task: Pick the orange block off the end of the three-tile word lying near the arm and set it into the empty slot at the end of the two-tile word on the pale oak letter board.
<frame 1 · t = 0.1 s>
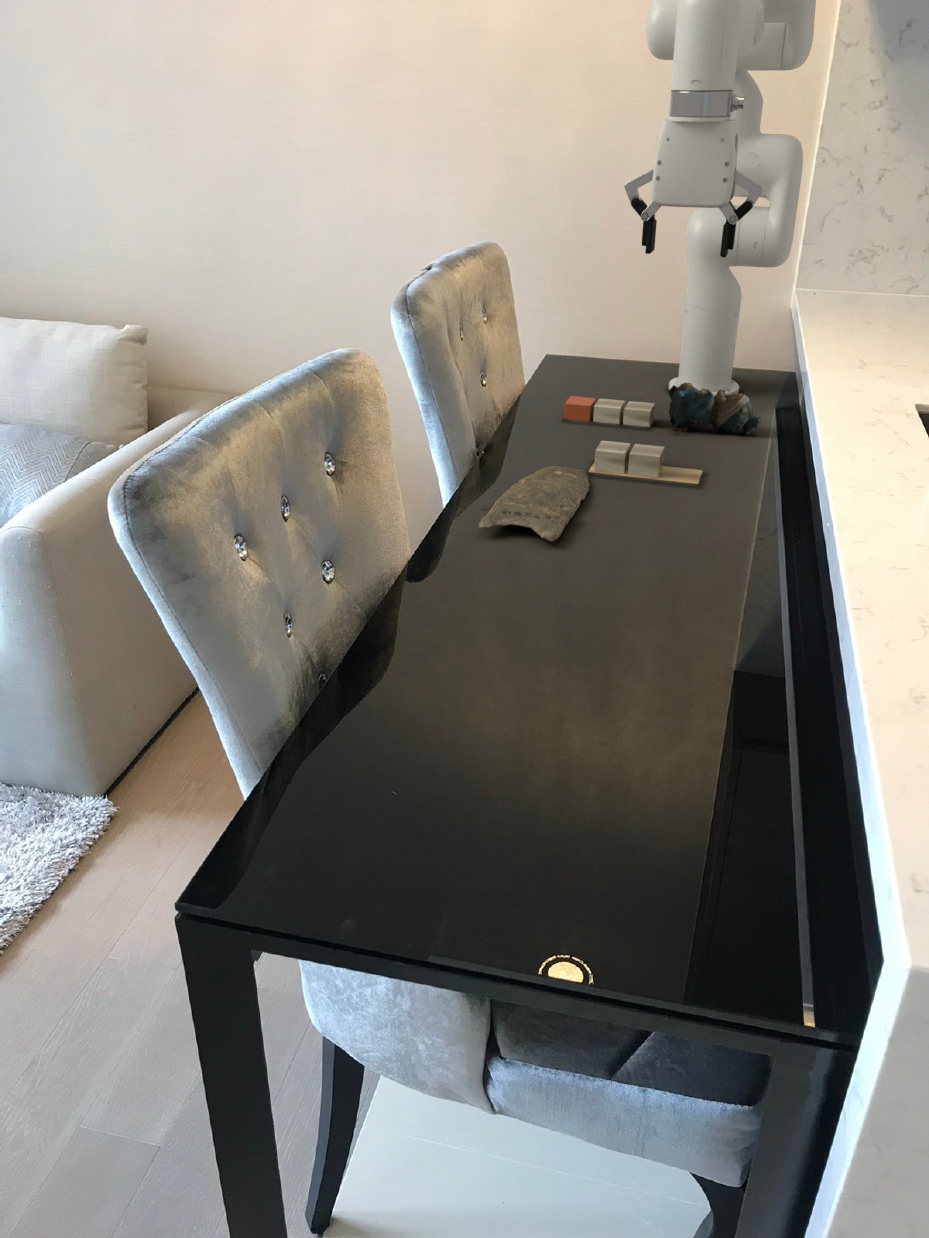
hand: (686, 254, 131), 31 cm above the table, tool pointing down, fingers open, 9 cm apart
tile left 2: (608, 421, 168), on the table
stone tool: (542, 509, 137), on the table
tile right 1: (611, 467, 148), point 1 cm above the table, touching letter board
tile right 2: (645, 470, 147), point 1 cm above the table, touching letter board
blue brown rough lump: (710, 433, 163), on the table
letter board: (645, 474, 147), on the table
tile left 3: (638, 424, 167), on the table
orange block: (579, 419, 170), on the table
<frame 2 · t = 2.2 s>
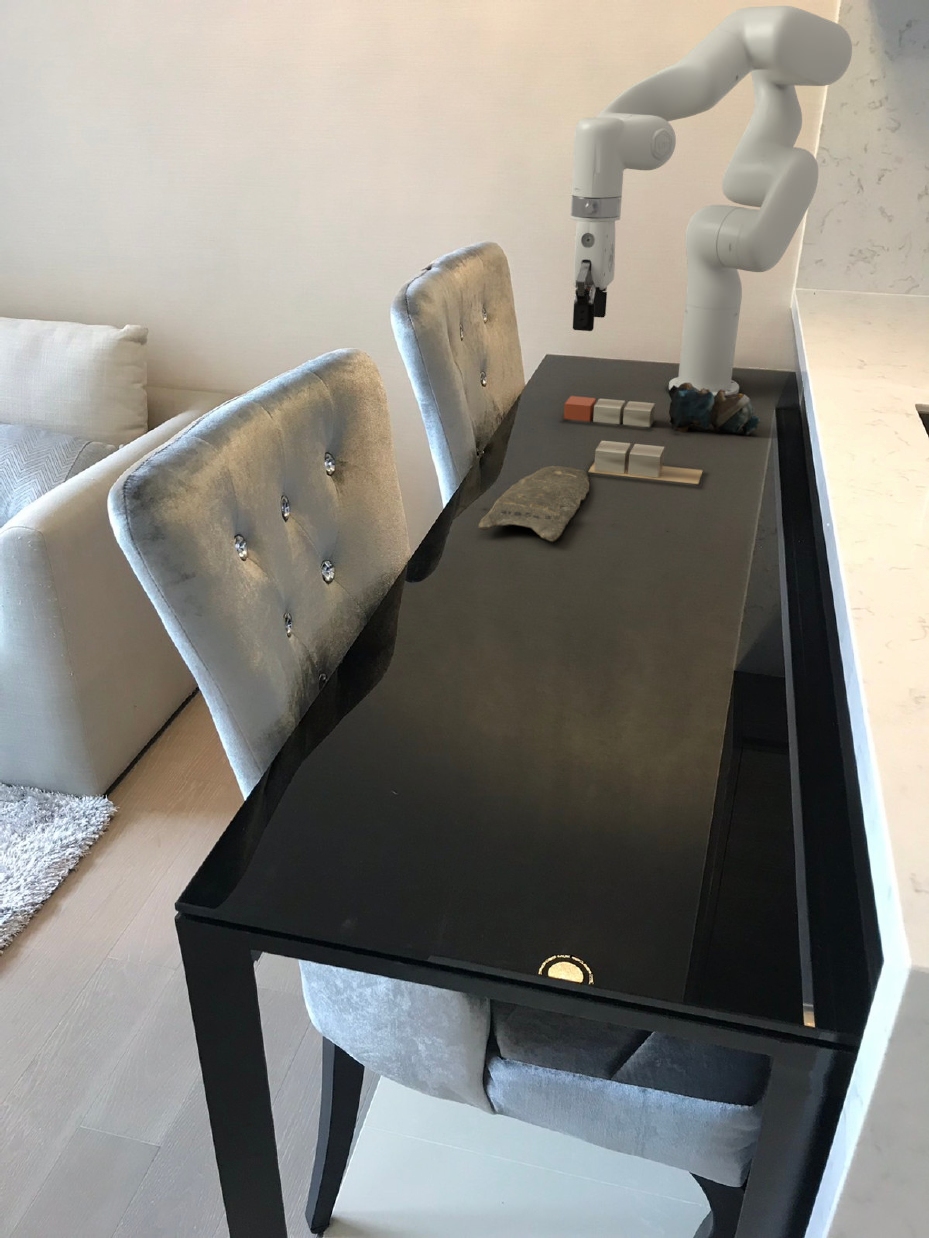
hand: (589, 323, 160), 17 cm above the table, tool pointing down, fingers open, 9 cm apart
nothing on the table moved.
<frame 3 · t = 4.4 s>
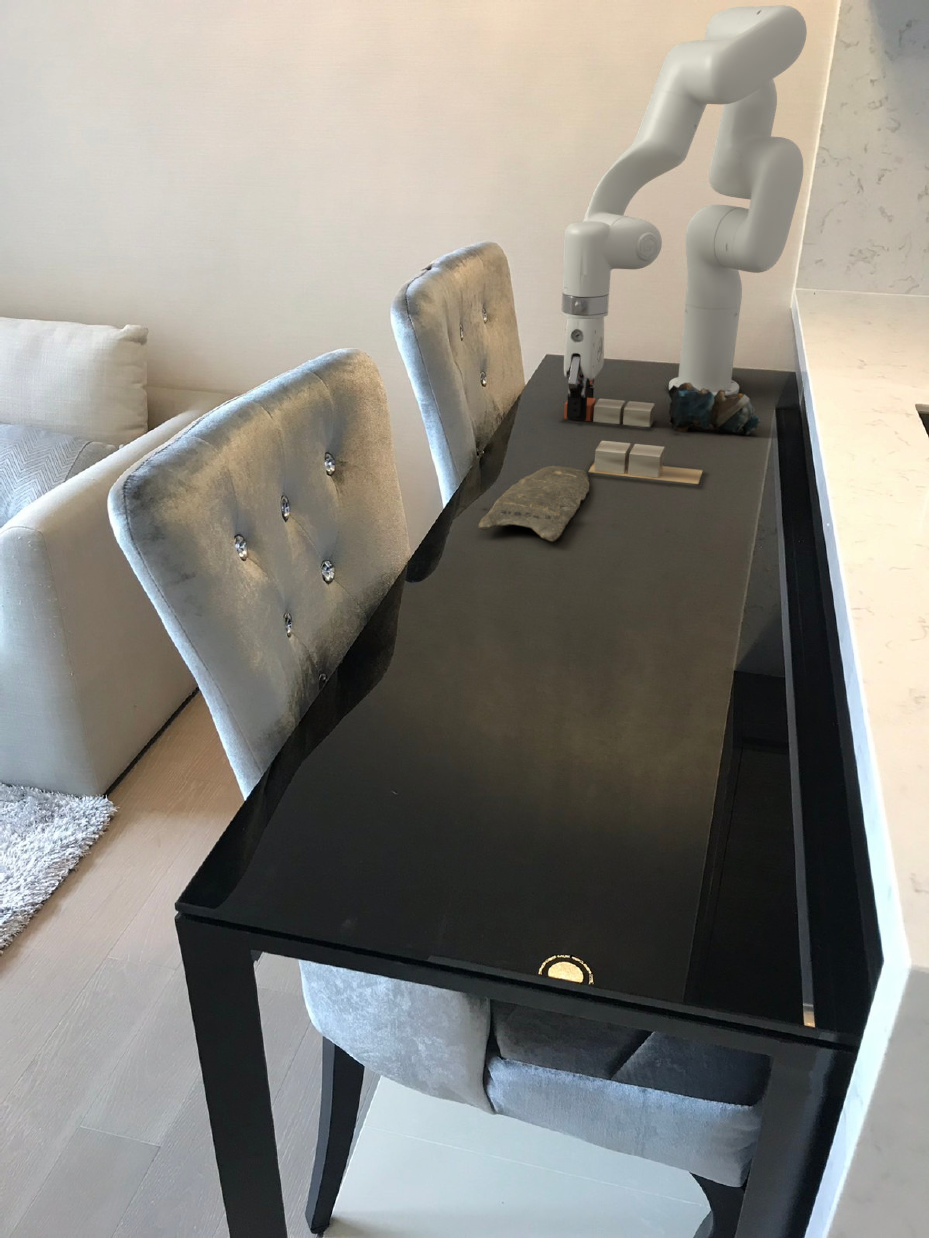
hand: (579, 413, 169), 1 cm above the table, tool pointing down, fingers closed on orange block, 4 cm apart
orange block: (579, 419, 170), on the table, touching gripper
everything else where it was.
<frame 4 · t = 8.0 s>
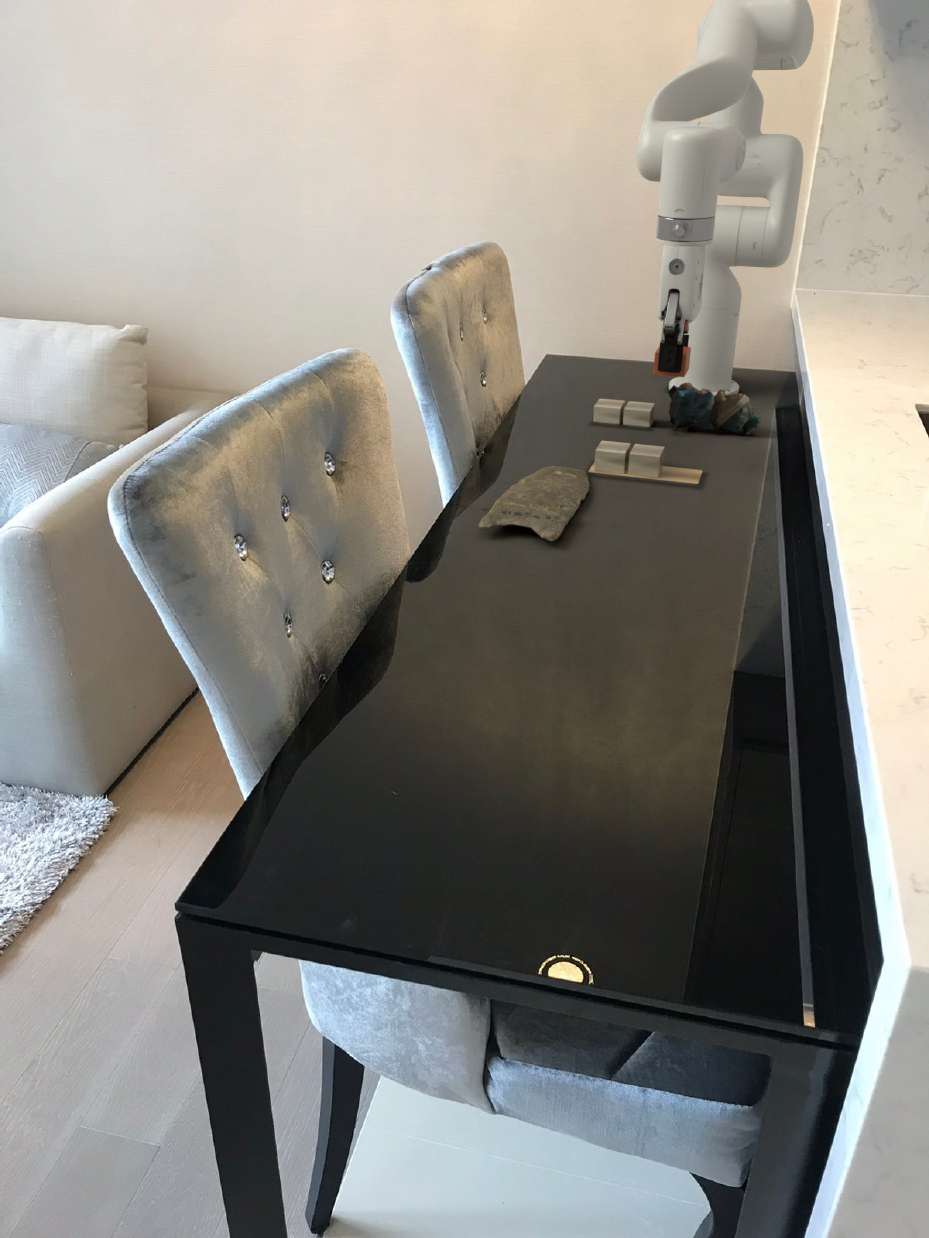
hand: (672, 365, 142), 16 cm above the table, tool pointing down, fingers closed on orange block, 4 cm apart
orange block: (671, 372, 142), point 15 cm above the table, touching gripper
everything else where it was.
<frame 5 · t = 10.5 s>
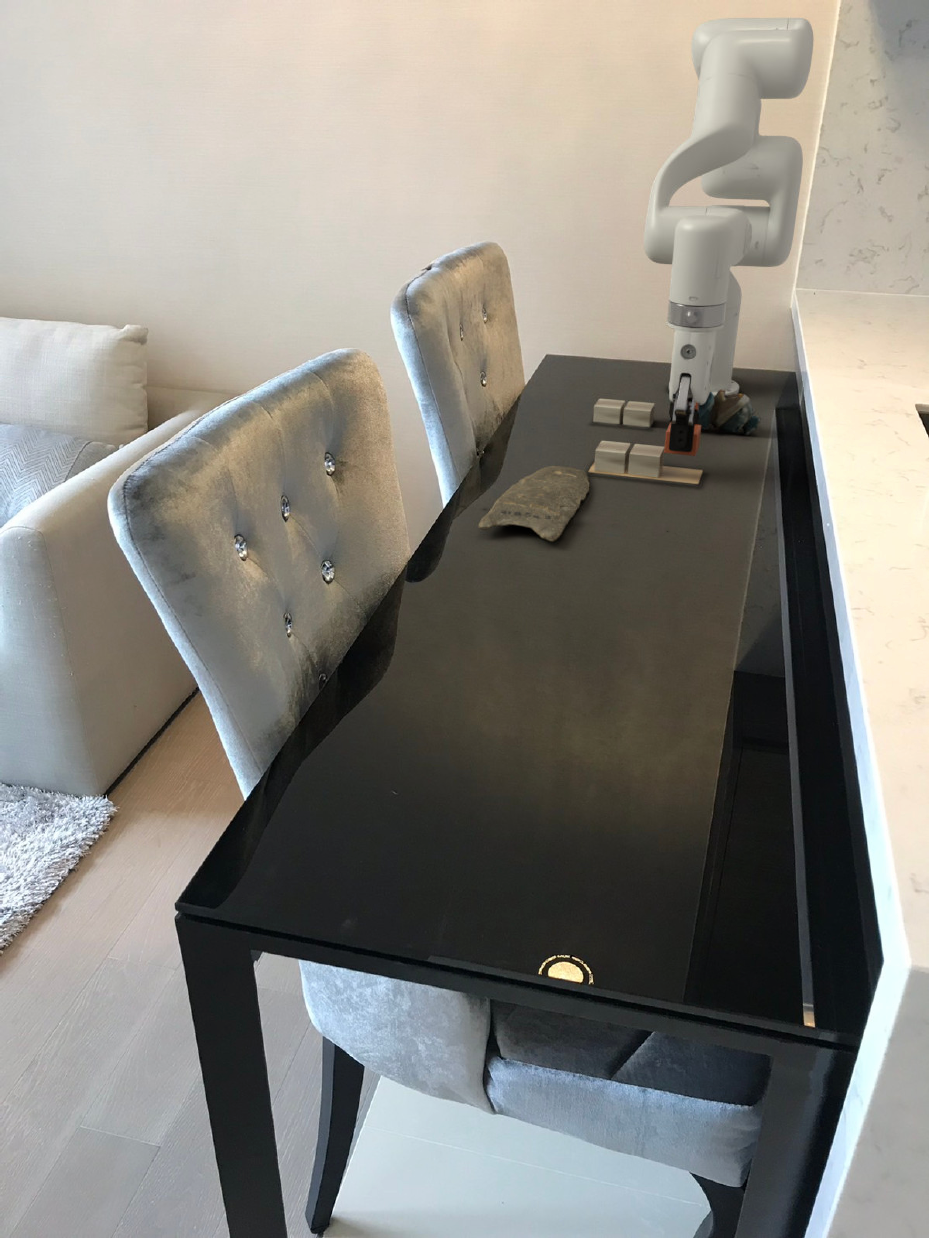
hand: (682, 443, 143), 5 cm above the table, tool pointing down, fingers closed on orange block, 4 cm apart
orange block: (681, 449, 144), point 4 cm above the table, touching gripper
everything else where it was.
when the fingers open (2 cm above the table, at t = 11.9 s): orange block stays where it is, resting on letter board.
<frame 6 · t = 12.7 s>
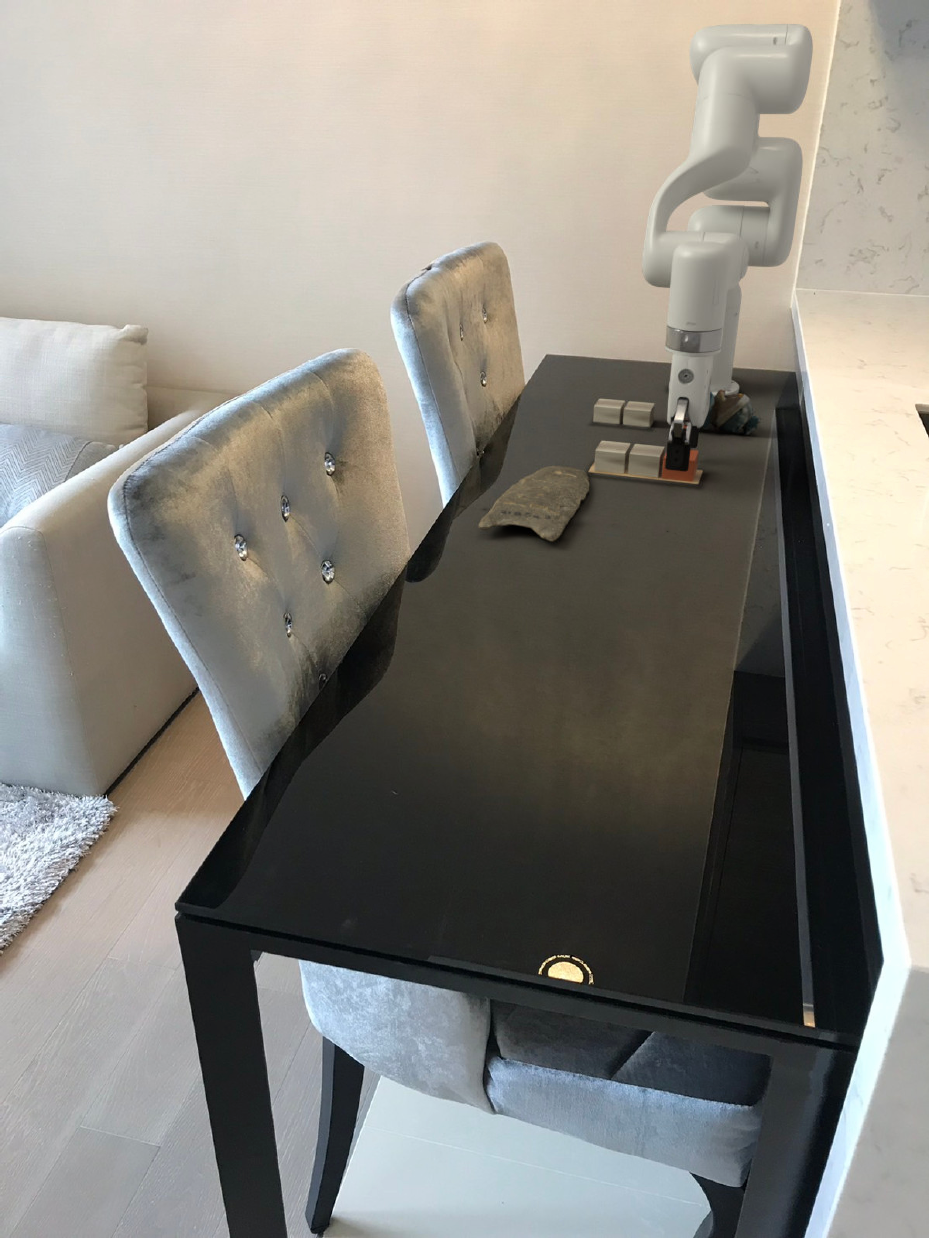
hand: (681, 458, 144), 3 cm above the table, tool pointing down, fingers open, 9 cm apart
orange block: (679, 474, 146), point 1 cm above the table, touching letter board
everything else where it was.
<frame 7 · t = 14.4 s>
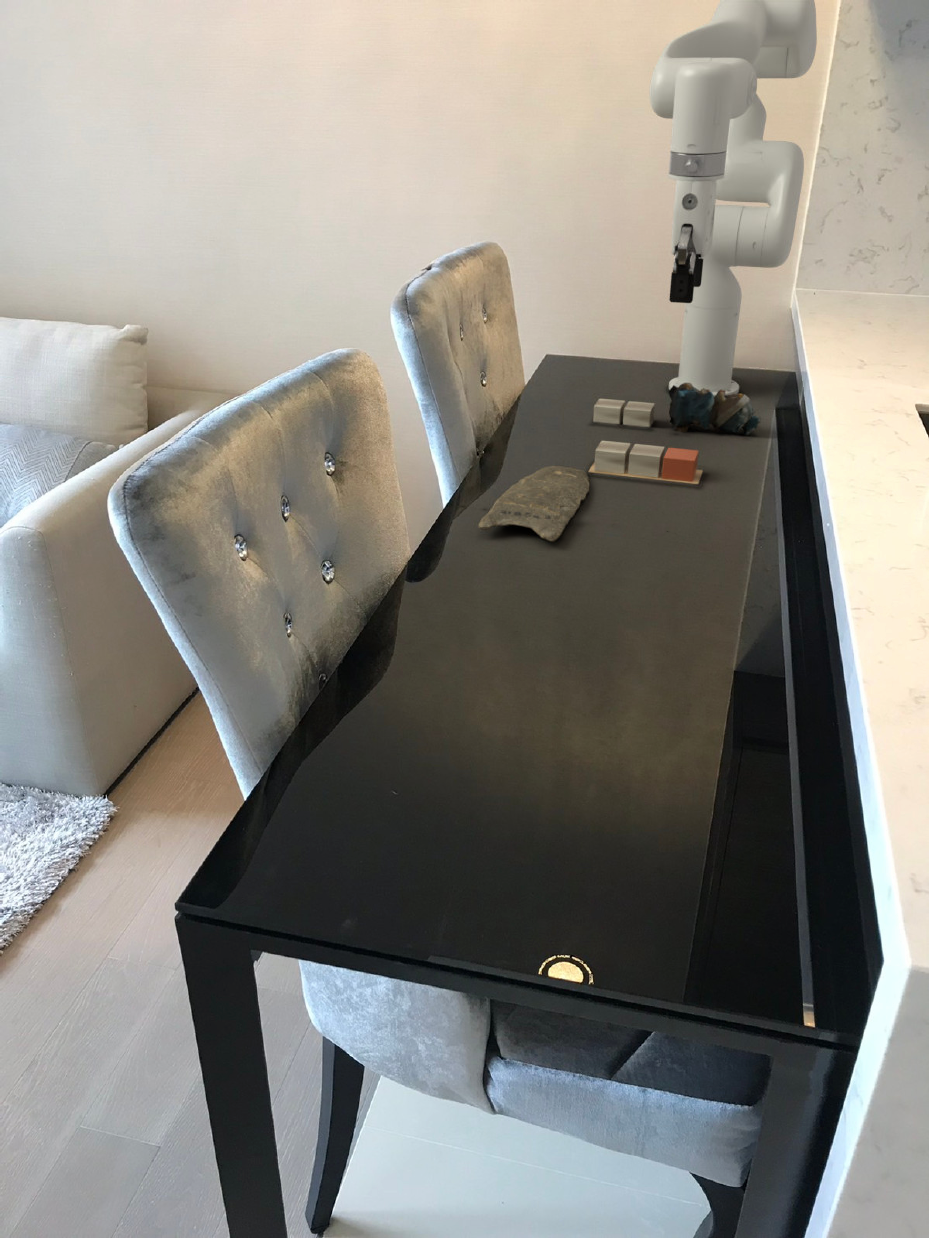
hand: (685, 294, 145), 24 cm above the table, tool pointing down, fingers open, 9 cm apart
nothing on the table moved.
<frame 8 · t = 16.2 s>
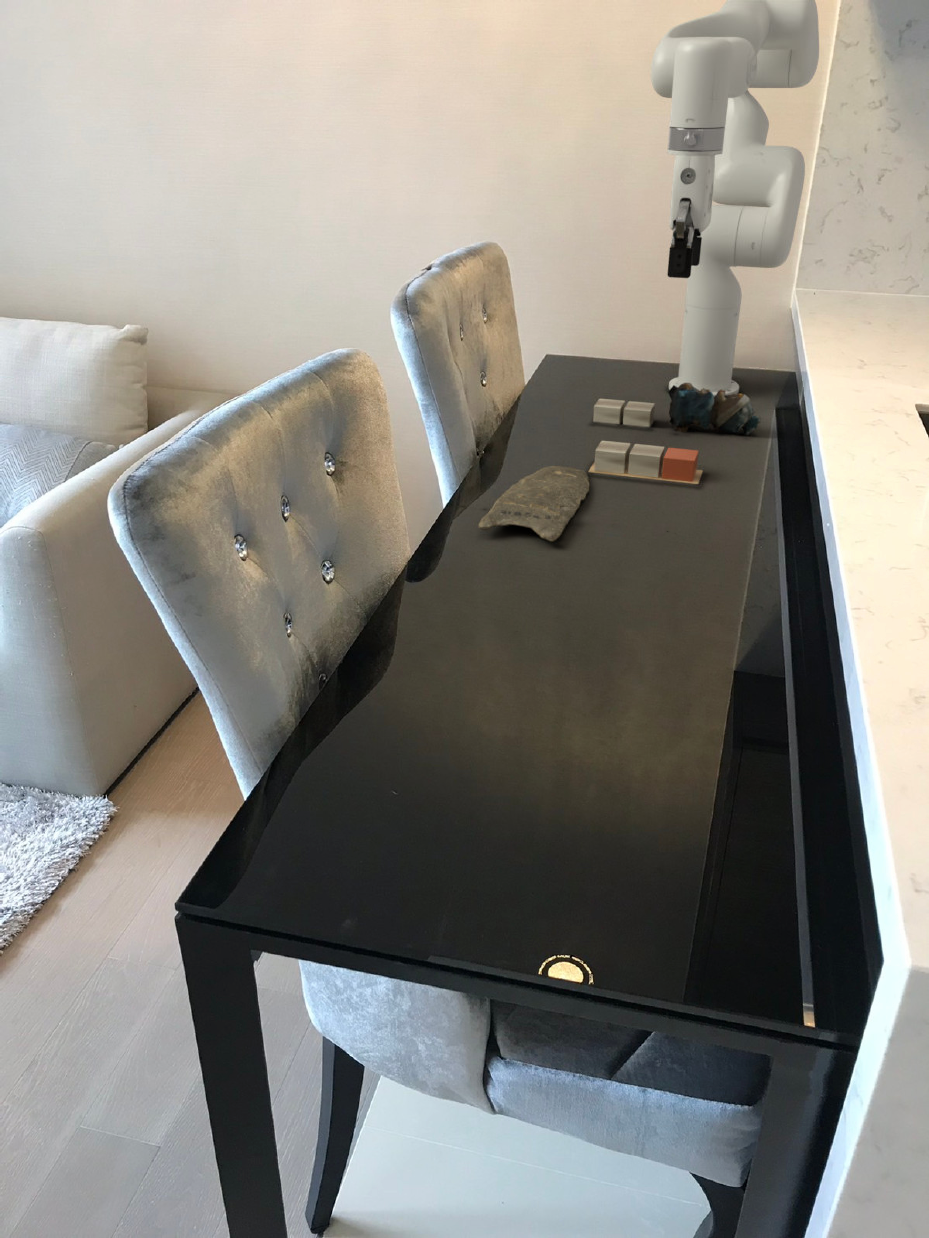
hand: (683, 271, 146), 26 cm above the table, tool pointing down, fingers open, 9 cm apart
nothing on the table moved.
at the end: orange block 0.1 cm from the target spot on the letter board, point 0.6 cm above the letter board's base; orange block tilted 0° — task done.
